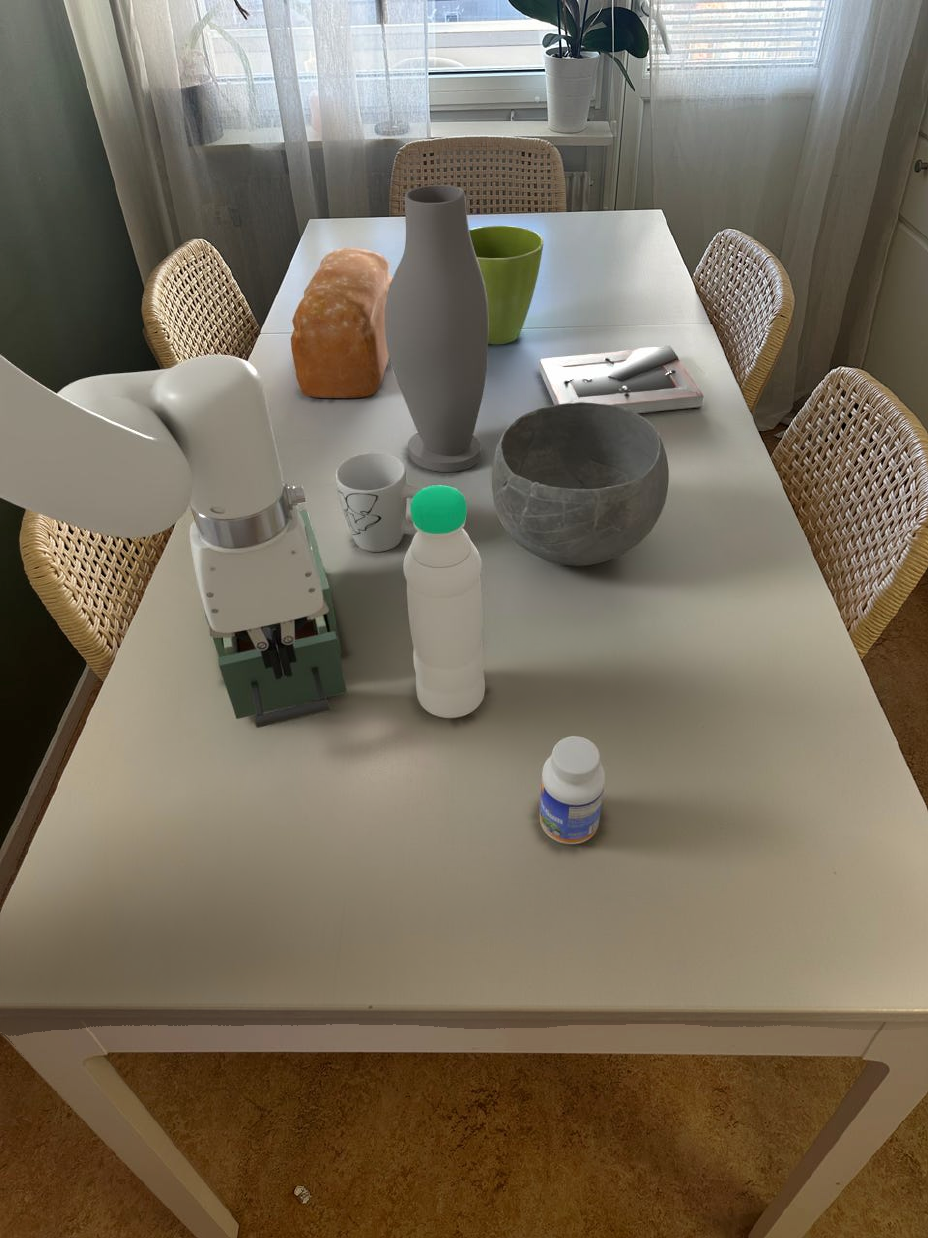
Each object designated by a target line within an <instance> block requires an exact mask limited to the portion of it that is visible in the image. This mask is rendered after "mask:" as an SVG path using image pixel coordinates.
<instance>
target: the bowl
mask: <svg viewBox="0 0 928 1238" xmlns="http://www.w3.org/2000/svg"><path fill="white" fill-rule="evenodd" d="M668 461H669V460H668V456H667V452H666V449H665V444H664V442H663V439H662V437H661V435H660V433H659V431H658V430H657V428H656V427H655V426H654V425H653V424H652V423H651V422H650V421H649V420H647V419H646V418H645V417H644V416H642V415H641V414H640V413H639V414H637V413H635V412H633V411H631V410H628V409H625V408H622V407H619V406H614V405H608V404H599V403H584V402H577V403H563V404H557V405H554V404H552V405H547V406H544V407H540V408H537V409H533V410H532V411H529V412H527V413H525V414H523V415H521V416H520V417H518V418H517V419H516V420H514V421H513V422H512V423H511V424H509V426H508V427H507V428H506V429H505V431H504V432H503V433H502V436H501V437H500V440H499V442H498V443H497V447H496V450H495V453H494V456H493V461H492V468H491V478H490V479H491V480H490V481H491V491H492V494H491V495H492V500H493V504H494V505H493V506H494V508H495V511H496V513H497V516H498V518H499V519H498V520H499V521H500V523H501V525H502V526H503V528H504V529H505V531H506V532H507V534H508V535H509V536H510V537H511V538H512V539H513V541H514V542H516V544H518V545H519V546H521V547H522V548H523V549H524V550H526V551H527V552H529V554H532V555H534V556H536V557H538V558H540V559H541V560H542V559H543V560H545V561H547V562H551V563H553V564H556V565H557V564H558V565H561V566H562V565H563V566H573V567H575V566H576V567H577V566H578V567H581V566H589V565H597V564H601V563H604V562H607V561H610V560H613V559H615V558H618V557H619V556H622V555H623V554H626V553H628V552H629V551H630V550H632V549H634V548H635V547H636V546H638V545H639V544H640V543H641V542H642V541H643V540H644V539H645V538H646V537H647V536H648V535H649V534H650V532H652V530H653V528H654V527H655V525H656V524H657V522H658V521H659V519H660V516H661V514H662V513H663V510H664V508H665V504H666V500H667V496H668V491H669V481H670V471H669V462H668Z"/></svg>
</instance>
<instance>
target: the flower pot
mask: <svg viewBox="0 0 928 1238" xmlns="http://www.w3.org/2000/svg"><path fill="white" fill-rule="evenodd" d="M469 232H470V236H471V240H472V244H473V248H474V251H475V254H476V257H477V260H478V263H479V266H480V269H481V272H482V275H483V279H484V283H485V288H486V293H487V301H488V320H489V325H488V345H506V344H511V343H513V342H514V341H516V340H517V339H518V338H519V336H520V333H521V331H522V329H523V326H524V325H525V321H526V318H527V315H528V313H529V309H530V306H531V303H532V300H533V296H534V292H535V289H536V285H537V281H538V278H539V277H538V276H539V272H540V267H541V261H542V257H543V256H542V255H543V250H544V244H545V243H544V242H545V241H544V238H543V237H542V236H541V235H540V233H538V232H536V231H533V230H532V229H529V228H524V227H519V226H514V225H513V226H512V225H490V226H482V227H475V228H472V229H469Z"/></svg>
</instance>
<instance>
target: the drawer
mask: <svg viewBox="0 0 928 1238" xmlns="http://www.w3.org/2000/svg"><path fill="white" fill-rule="evenodd" d="M311 621H313V625H314V628H315V632H316V635H315V636H311V637H306V638H302V639H298V640H295V641H294V642H293V646H294V650H295V654H296V659H297V662H293V663H290V666H291V671H292V676H289V677H287V676H285V675H284V671H283V668H282V664H281V668H282V674H283V677H281V679H275V675H274V671H273V667H271V668H266V669H265V665H264V662H263V658H262V655H261V651H259V650H257V649H254V650H249V651H245V652H239V646H238V639H237V637H236V636H232V637H230V638H223V640H224V648H225V651H226V654H227V656H223V657H219V656H218V657H217V661H218V667H219V670H220V674H221V676H222V679H223V682H224V685H225V689H226V691H227V694H228V698H229V700H230V703H231V706H232V709H233V710H232V711H233V713H234V716H235V718H236V720H238V719H243V718H246V717H250V716H253V717H254V718H253V720H254V723H255V727H256V728H257V729H260V728H264V727H268V726H272V725H276V724H280V723H284V722H288V721H293V720H297V719H300V718H304V717H309V716H314V715H316V714H320V713H326V712H328V711H329V712H330V710H331V708H330V702H329V699H328V698H331V697H333V696H338V695H342V694H346V693H347V692H348V689H347V685H346V680H345V679H346V678H345V674H344V668H343V664H342V658H341V654H340V652H339V647H338V642H337V637H336V634H335V631H333V632H329V633H327V629H326V624H325V621H324V617H323V615H322V616H320V617H317V618H315V619H313V620H308V621H307V622H311ZM277 625H278V623H276V624H271V625H267V626H266V627H267V628H268V627H269V628H270V630H274V629H276V626H277ZM276 646H277V644H276ZM277 650H278V648H277ZM278 654H279V652H278ZM279 658H280V656H279ZM280 663H281V660H280Z"/></svg>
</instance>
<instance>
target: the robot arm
mask: <svg viewBox="0 0 928 1238" xmlns="http://www.w3.org/2000/svg"><path fill="white" fill-rule="evenodd" d="M269 411H270V410H269V408H268V402H267V398H266V394H265V388H264V385H263V381H262V378H261V376H260V374H259V372H258V371H257V370H256V368H255V367H254V366H253V365H252V364H251V363H249V362H248V361H247V360H245V359H242V358H239V357H237V356H235V355H234V356H233V355H230V354H229V355H228V354H207V355H200V356H194V357H192V358H188V359H186V360H183V361H181V362H178V363H177V364H175V365H173V366H172V367H169V368H162V369H155V370H146V371H145V370H144V371H134V372H123V373H109V374H100V375H95V376H94V375H93V376H89V377H83V378H81V379H78V380H75V381H73V382H70V383H69V384H68V385H66V386H64V387H62V388H61V389H60V390H59V391H58V392H57V393H56V392H54V391H53V390H51V389H49V388H48V387H46V386H44V385H43V384H41V383H40V382H38V381H37V380H35V379H34V378H32V377H31V376H29V374H27V373H25V372H24V371H22V370H21V369H20V368H19V367H17V366H16V365H14V364H13V363H12V362H10V361H9V360H8V359H6V358H5V357H4V356H3V355H2V354H0V499H2V500H5V501H7V502H9V503H11V504H13V505H15V506H18V507H20V508H23V509H25V510H28V511H30V512H32V513H35V514H38V515H42V516H44V517H47V518H50V519H53V520H55V521H58V522H61V523H64V524H68V525H70V526H73V527H76V528H79V529H82V530H85V531H88V532H91V533H95V534H99V535H103V536H107V537H114V538H123V539H141V538H146V537H152V536H153V535H158V534H159V533H162V532H164V531H166V530H168V529H169V528H171V527H173V526H174V525H175V524H177V522H179V521H180V519H181V518H182V517H183V516H184V514H185V513H186V511H187V509H188V507H190V510H191V513H192V516H193V521H192V523H191V524H190V527H189V542H190V550H191V556H192V562H193V567H194V572H195V576H196V581H197V585H198V589H199V595H200V597H201V602H202V606H203V609H205V610H204V613H205V612H206V616H207V619H208V622H209V626H208V630H209V631H208V632H209V636H210V637H211V638H212V637H213V638H230V637H232V636H236V637H237V638H239V639H241V640H244V641H246V642H249V643H251V644H254V646H255V647H256V649H257V650H259V651H261V655H262V658H263V662H264V665H265V669H266V668H271V667H273V671H274V675H275V679H281V677H283V674H282V668H283V671H284V675H285V676H287V677H289V676H292V671H291V666H290V663H293V662H297V659H296V654H295V650H294V646H293V642H294V641H295V635H296V634H297V633H298V632H299V631H300V630H301V628H302V627H303V626H304V625H305V624H306V623H307V621H308V620H313V619H315V618H317V617H320V616H322V615H324V614H326V613H328V612H329V608H328V604H327V600H326V598H325V597H324V595H323V593H322V587H321V582H320V578H319V573H318V568H317V564H316V560H315V557H314V553H313V549H312V545H311V542H310V538H309V535H308V532H307V529H306V526H305V524H304V521H303V519H302V516H301V514H300V512H299V511H300V510H299V508H298V504H302V503H306V496H305V495H306V494H305V491H304V486H303V485H299V486H294V485H291V486H289V484H288V482H284V477H283V472H282V468H281V463H280V459H279V455H278V449H277V445H276V441H275V436H274V432H273V426H272V422H271V416H270V412H269ZM276 623H278V625H277V626H276V629H274V632H275V637H276V642H275V638H274V634H273V631H272V630H270V628H269V627H268V628H267V627H266V626H267V625H271V624H276ZM213 638H212V639H213ZM276 643H277V646H276ZM277 648H278V650H277ZM278 652H279V654H278ZM279 656H280V658H279ZM280 660H281V663H280ZM281 664H282V668H281Z"/></svg>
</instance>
